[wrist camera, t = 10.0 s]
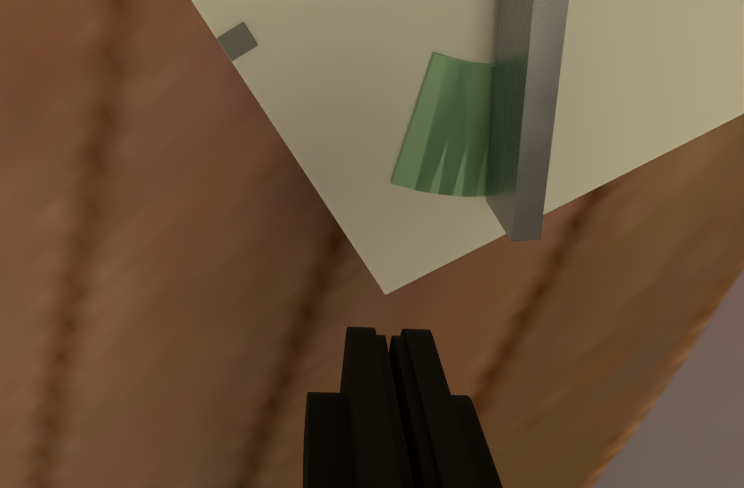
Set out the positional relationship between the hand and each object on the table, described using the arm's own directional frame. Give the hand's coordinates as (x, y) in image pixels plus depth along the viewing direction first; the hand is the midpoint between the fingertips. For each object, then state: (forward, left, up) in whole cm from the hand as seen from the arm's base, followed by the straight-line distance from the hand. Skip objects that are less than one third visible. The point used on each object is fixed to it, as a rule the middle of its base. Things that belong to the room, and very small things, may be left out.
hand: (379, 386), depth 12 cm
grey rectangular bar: (+8, 0, -15) cm, 17 cm away
